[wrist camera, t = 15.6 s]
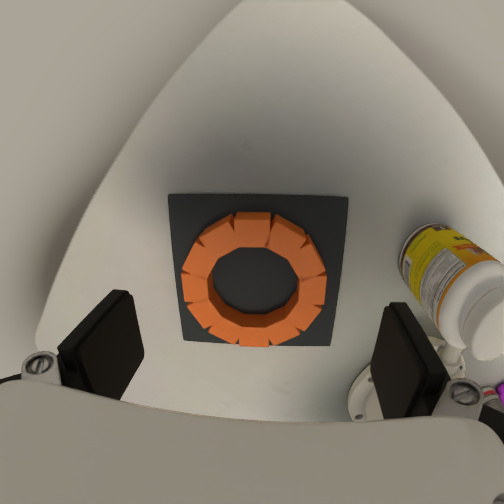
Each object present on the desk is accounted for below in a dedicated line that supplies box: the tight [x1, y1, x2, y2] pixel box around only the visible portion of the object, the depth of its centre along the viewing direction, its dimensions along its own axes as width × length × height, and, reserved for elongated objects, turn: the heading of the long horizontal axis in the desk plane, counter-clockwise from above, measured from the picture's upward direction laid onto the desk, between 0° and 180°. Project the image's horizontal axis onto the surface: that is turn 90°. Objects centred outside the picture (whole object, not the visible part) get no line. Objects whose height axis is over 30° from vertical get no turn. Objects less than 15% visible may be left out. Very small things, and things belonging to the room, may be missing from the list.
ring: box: [181, 212, 327, 347], centre depth 21 cm, size 10×10×2 cm
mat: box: [168, 194, 349, 346], centre depth 22 cm, size 12×12×1 cm
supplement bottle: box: [399, 223, 504, 361], centre depth 16 cm, size 6×6×10 cm
